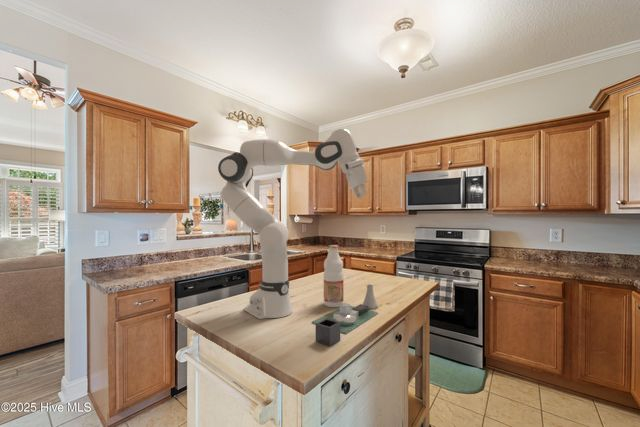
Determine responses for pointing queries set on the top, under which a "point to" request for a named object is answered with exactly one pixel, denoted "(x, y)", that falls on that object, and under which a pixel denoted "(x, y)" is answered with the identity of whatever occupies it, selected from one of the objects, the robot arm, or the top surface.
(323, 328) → the dark square pot
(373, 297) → the flask
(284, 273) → the robot arm
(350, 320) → the green placemat
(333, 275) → the fruit juice
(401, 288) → the top surface
